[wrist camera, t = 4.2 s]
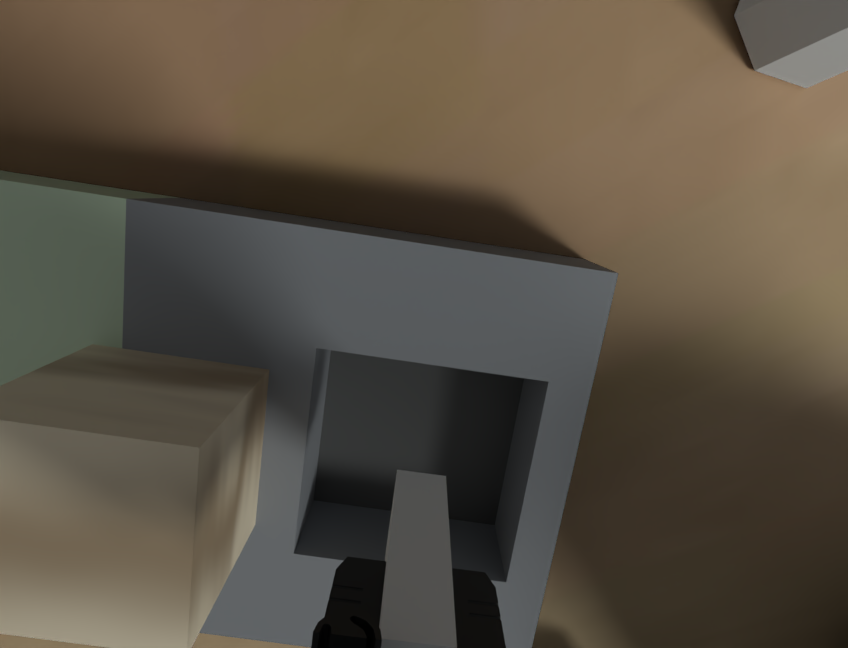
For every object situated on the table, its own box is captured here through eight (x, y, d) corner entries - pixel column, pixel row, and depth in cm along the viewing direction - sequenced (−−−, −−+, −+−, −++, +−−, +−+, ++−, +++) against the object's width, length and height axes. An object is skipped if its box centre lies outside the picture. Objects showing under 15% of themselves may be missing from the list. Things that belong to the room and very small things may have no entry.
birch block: (92, 344, 19) (-58, 411, 13) (269, 369, 19) (199, 447, 13) (90, 501, 20) (-47, 627, 14) (255, 524, 20) (186, 657, 15)
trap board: (-377, 113, 21) (-559, 94, 17) (584, 259, 22) (618, 273, 18) (-313, 492, 25) (-452, 548, 21) (510, 602, 26) (525, 675, 22)
